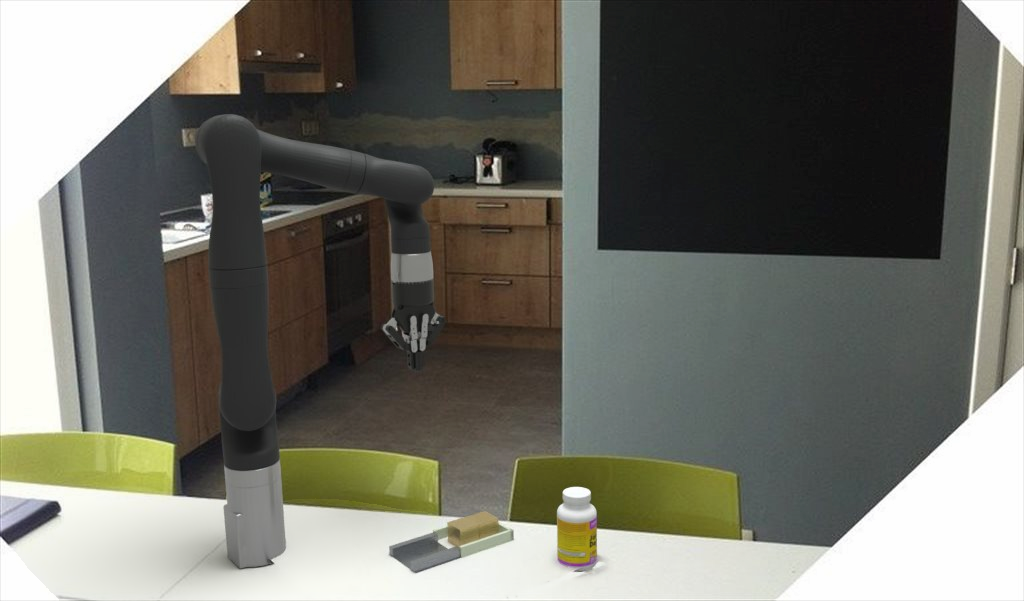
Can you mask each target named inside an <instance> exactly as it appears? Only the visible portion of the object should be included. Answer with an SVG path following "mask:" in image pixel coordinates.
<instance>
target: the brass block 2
mask: <svg viewBox="0 0 1024 601" xmlns="http://www.w3.org/2000/svg"><path fill="white" fill-rule="evenodd" d="M467 517H468V518H470V519H472V520H473V521H475V522H477V523H479V537H480V539H483V538H486V537H489V536H492V535H495V534H498V533H499V529H498V522H499V517H497V516H495V515H493V514H491V513H490V512H487V511H486V510H484V511H480V512H476V513H474V514H471V515H468V516H467Z"/></svg>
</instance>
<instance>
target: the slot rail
mask: <svg viewBox="0 0 1024 601" xmlns="http://www.w3.org/2000/svg"><path fill="white" fill-rule="evenodd" d="M388 548H389V549H388V550H389V553H388V555H389V556H390V557H392V558H394V559H395V560H396V561H398V562H399V563H400V564H402V565H403V566H404V567H406V568H407V569H408V570H410V571H411V572H413V573H414V574H418V573H421V572H425V571H427V570H430V569H432V568H436V567H439V566H442V565H445V564H448V563H450V562H453V561H455V560H459V559H462V558H463V557H461V555H460V548H459V547H457V546H455V545H454V546H452V547H450V548H448V547H446V546H445V545H443V544H441V543H440V542H439V540H438V534H436V533H435V532H433V531H432V532H430V533H425V534H424V535H420V536H417V537H414V538H411V539H408V540H404V541H402V542H399V543H395V544H391V545H389V546H388Z"/></svg>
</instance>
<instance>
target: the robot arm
mask: <svg viewBox="0 0 1024 601" xmlns="http://www.w3.org/2000/svg"><path fill="white" fill-rule="evenodd" d="M194 143H195V144H194V146H195V149H196V152H197V155H198V156H199V157H200V159H201V161H202V162H203V163H204V164H205V165H206V166H207V170H208V175H209V181H210V190H211V195H212V196H211V198H212V214H211V215H212V217H211V225H210V230H209V240H208V250H207V251H208V252H207V259H208V261H207V264H208V278H209V280H208V281H209V289H210V290H209V291H210V297H211V304H212V309H213V314H214V315H213V316H214V320H215V325H216V328H217V334H218V338H219V344H220V352H221V381H220V383H219V387H218V392H217V395H218V396H217V397H218V411H219V422H220V423H219V424H220V432H221V434H220V436H221V446H222V449H221V450H222V457H223V465H224V467H223V468H224V469H223V470H224V479H225V493H226V504H224V505H223V516H224V517H223V518H224V527H225V528H224V529H225V531H224V532H225V540H226V541H225V542H226V553H227V554H226V555H227V557H228V559H229V560H231V561H232V562H233V563H234V564H235V565H236V566H237V567H238V568H239V569H245V568H256V567H264V566H267V565H271V564H274V562H275V561H274V562H273V561H272V560H273V559H276V558H277V557H279V556H281V555H283V554H284V553H285V551H286V549H287V539H286V538H287V537H286V527H285V526H286V525H285V516H284V515H285V514H284V513H285V512H284V500H283V499H284V498H283V486H282V485H283V484H282V473H281V472H282V471H281V470H282V469H281V459H280V458H281V456H280V444H279V435H278V428H277V414H276V407H277V398H278V397H277V393H276V391H275V390H276V389H275V387H274V382H273V376H272V371H271V370H272V369H271V363H270V358H269V348H268V347H269V346H268V334H269V333H268V331H269V313H270V312H269V308H270V307H269V303H270V302H269V299H270V298H269V297H270V296H269V293H270V292H269V291H270V290H269V287H270V286H269V273H268V258H267V250H266V238H265V232H264V222H263V218H262V211H261V210H262V209H261V173H268V174H273V175H274V174H275V175H278V176H284V177H287V178H292V179H295V180H299V181H303V182H307V183H310V184H314V185H317V186H321V187H325V188H328V189H332V190H337V191H343V192H344V193H345V192H346V193H351V194H356V195H361V196H362V195H363V196H374V197H378V198H382V199H384V203H385V207H386V208H385V209H386V213H387V218H388V220H389V226H390V246H391V250H390V251H391V257H390V277H391V278H390V281H391V299H392V300H391V301H392V305H393V309H392V312H391V314H390V315H391V318H390V319H389V320H388V321H387V323H383V324H381V326H380V330H381V331H383V333H384V334H385V336H387V338H388V339H389V340H390V341H391V342H392V344H394V345H395V347H396V348H397V349H401V350H403V351H406V360H407V361H406V363H407V368H409V370H410V371H411V372H414V373H416V372H421V371H424V368H425V363H426V362H425V350H426V349H427V348H428V347H431V346H433V345H434V344H435V341H436V340H437V338H438V336H439V335H440V333H441V331H442V330H443V328H444V327H445V325H446V323H447V321H448V320H447V317H445V316H443V315H440V314H438V313H437V310H436V307H435V305H434V301H435V284H434V282H435V281H434V263H433V262H434V261H433V257H432V246H431V245H432V244H431V243H432V242H431V228H430V224H429V222H428V221H427V220H426V218H425V217H424V214H423V207H422V205H424V204H425V203H426V202H428V201H429V200H430V198H431V197H432V196H433V194H434V191H435V181H434V178H433V176H432V175H431V174H432V173H430V171H428V170H427V169H426V168H424V167H422V166H421V165H417V164H412V163H408V162H407V163H406V162H403V161H396V160H391V159H384V158H379V157H375V156H373V155H370V154H368V153H363V152H359V151H355V150H352V149H347V148H343V147H337V146H331V145H326V144H319V143H314V142H313V143H312V142H308V141H307V142H305V141H301V140H295V139H291V138H290V139H289V138H286V137H282V136H278V135H274V134H272V133H269V132H265V131H263V130H260V129H257V128H256V126H255V125H254V124H253V123H252V122H251V120H248V119H247V118H245V117H243V116H242V115H238V114H233V113H231V114H230V113H229V114H227V113H226V114H219V115H214V116H213V117H210V118H207V119H206V120H205V121H204V122H203V123H202V124H201V125H200V126H199V128H198V129H197V131H196V134H195V138H194ZM398 328H399V329H398ZM399 330H400V331H401V334H400V333H399V332H398V331H399ZM401 335H402V336H401Z"/></svg>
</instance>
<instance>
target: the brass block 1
mask: <svg viewBox="0 0 1024 601" xmlns="http://www.w3.org/2000/svg"><path fill="white" fill-rule="evenodd" d="M447 525H448V537H447V542H449V543H450V544H452V545H453V546H454V547H455V546H457V547H459V546H462V545H465V544H468V543H471V542H474V541H477V540H480V537H479V523H477V522H475V521H473V520H472V519H470V518H468V517H467V516H464V517H459V518H456V519H454V520H451V521H447ZM447 525H446V526H447Z"/></svg>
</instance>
